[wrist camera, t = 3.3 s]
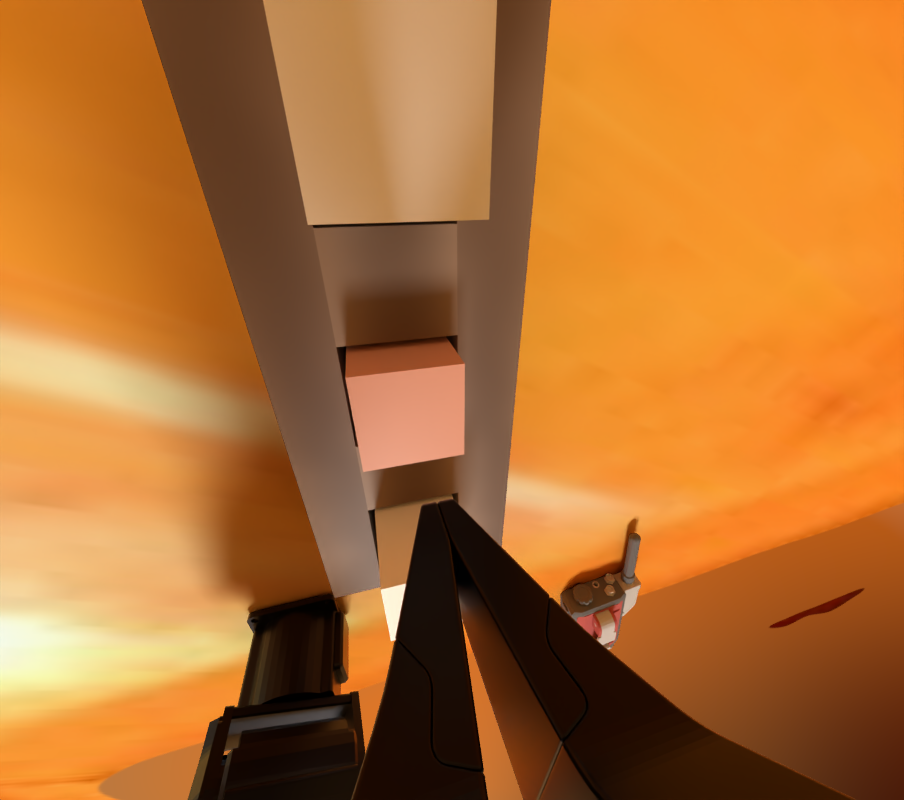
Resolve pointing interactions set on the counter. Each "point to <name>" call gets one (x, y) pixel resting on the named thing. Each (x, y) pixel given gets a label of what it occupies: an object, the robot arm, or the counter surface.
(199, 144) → the socket board
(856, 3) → the counter surface
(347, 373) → the plug terracotta
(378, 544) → the cream plug
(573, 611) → the walkie-talkie
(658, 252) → the counter surface
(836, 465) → the counter surface
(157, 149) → the counter surface
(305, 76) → the cream plug
